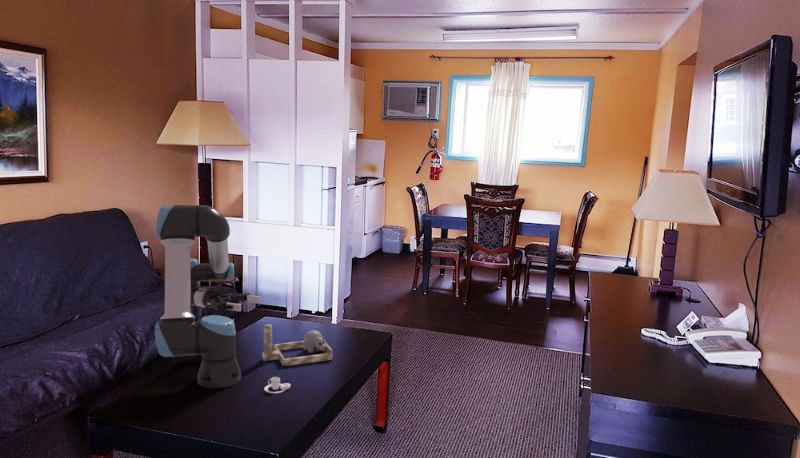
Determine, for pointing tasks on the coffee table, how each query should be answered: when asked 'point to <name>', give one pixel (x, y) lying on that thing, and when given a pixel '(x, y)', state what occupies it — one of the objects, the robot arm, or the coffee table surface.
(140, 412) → the coffee table surface
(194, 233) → the robot arm
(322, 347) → the chubby cartoon animal
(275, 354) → the pull frame
